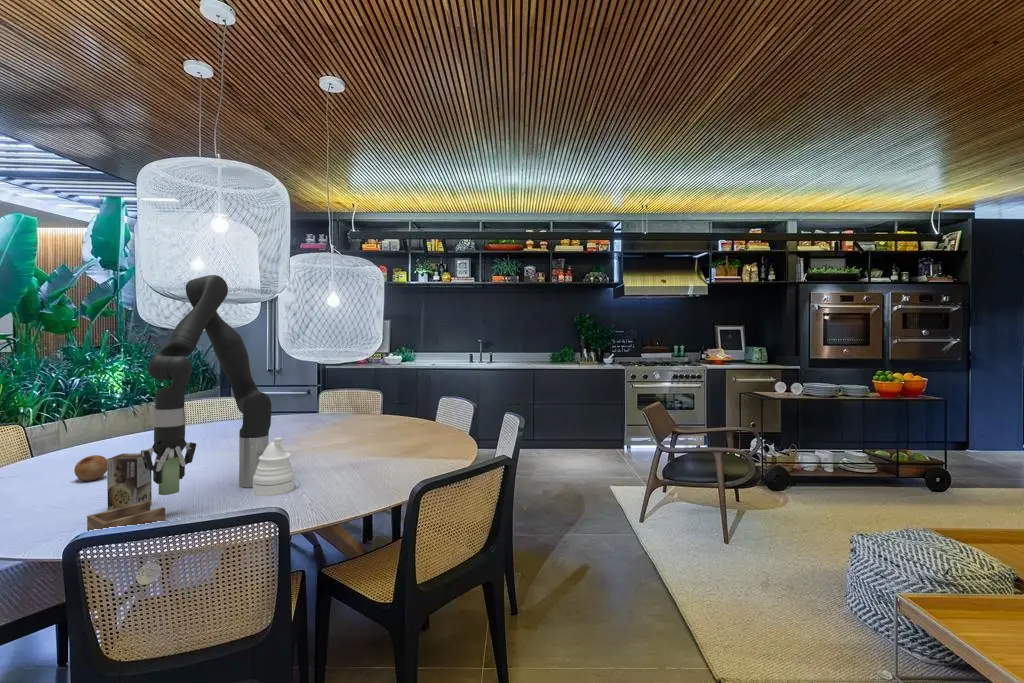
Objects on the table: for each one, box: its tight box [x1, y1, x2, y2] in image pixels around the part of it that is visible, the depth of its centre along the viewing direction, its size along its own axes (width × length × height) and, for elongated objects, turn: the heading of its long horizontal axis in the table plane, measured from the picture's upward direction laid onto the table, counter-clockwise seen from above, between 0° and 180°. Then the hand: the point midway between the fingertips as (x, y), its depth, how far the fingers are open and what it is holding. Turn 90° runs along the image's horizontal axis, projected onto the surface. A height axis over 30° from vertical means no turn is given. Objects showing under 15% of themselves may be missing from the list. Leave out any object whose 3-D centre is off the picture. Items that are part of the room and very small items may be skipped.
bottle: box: [158, 449, 181, 496], centre depth 141 cm, size 5×5×13 cm
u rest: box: [86, 501, 166, 531], centre depth 132 cm, size 14×11×4 cm
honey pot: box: [252, 437, 295, 497], centre depth 165 cm, size 13×13×18 cm
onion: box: [73, 454, 108, 482], centre depth 174 cm, size 10×9×10 cm
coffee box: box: [106, 452, 153, 511], centre depth 146 cm, size 9×6×16 cm
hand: (169, 480), depth 141 cm, fingers closed on bottle, 5 cm apart
